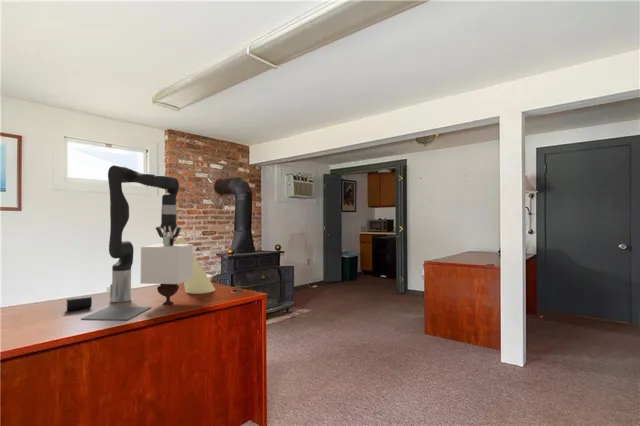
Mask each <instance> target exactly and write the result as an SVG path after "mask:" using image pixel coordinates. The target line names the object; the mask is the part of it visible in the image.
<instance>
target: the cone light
mask: <svg viewBox="0 0 640 426" xmlns="http://www.w3.org/2000/svg"><path fill="white" fill-rule="evenodd" d="M175 242H176V244H188V243H187V241H186V240H185V237H184V236H179V235H178V237H176V238H175ZM183 287H184V292H185V293H187V294H192V295H193V294H196V295H198V294H207V293H212V292H215V291H216V288H215V286H214V285H213V283H212V282H211V280H210V278H209V277H208V276H207V273H206V272H205V271H204V269H203V267H202V266H201V263H200V262H199V260H198V259H197V257H196V256H195V254H194V253H193V277H192V278H190V279H188V280H186V281H184V282H183Z"/></svg>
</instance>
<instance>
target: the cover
mask: <svg viewBox="0 0 640 426" xmlns="http://www.w3.org/2000/svg"><path fill="white" fill-rule="evenodd" d="M170 239H171V238H170V235H167V236H164V244H163V243H155V244H150V245H143V246H140V284H142V285H143V284H144V285H145V284H146V285H147V284H148V285H150V284H151V285H153V284H155V285H160V284H177V285H179V284H182V283H184V281H186V280H188V279H190V278H192V277H193V254H194V244H193V243H192V244H191V243H187V244H177V243H174V244H173V245H172V246H170Z"/></svg>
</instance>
